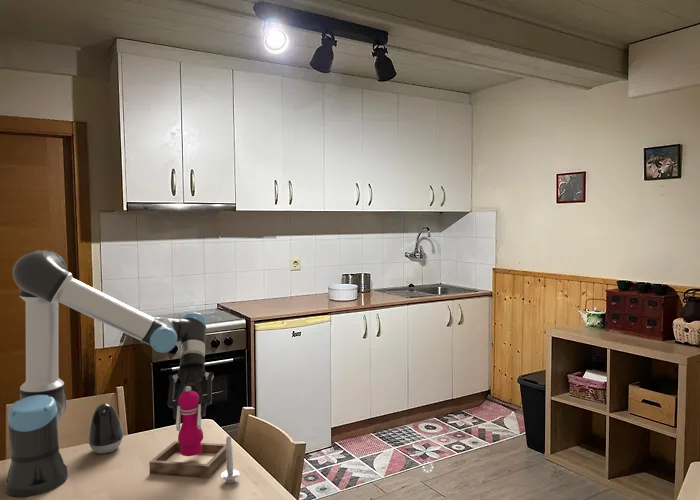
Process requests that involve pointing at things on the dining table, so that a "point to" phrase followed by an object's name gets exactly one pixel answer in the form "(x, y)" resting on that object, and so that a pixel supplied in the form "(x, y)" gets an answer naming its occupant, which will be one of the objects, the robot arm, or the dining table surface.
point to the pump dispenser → (105, 429)
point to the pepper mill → (189, 424)
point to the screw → (229, 464)
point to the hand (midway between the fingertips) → (188, 427)
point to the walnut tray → (189, 461)
